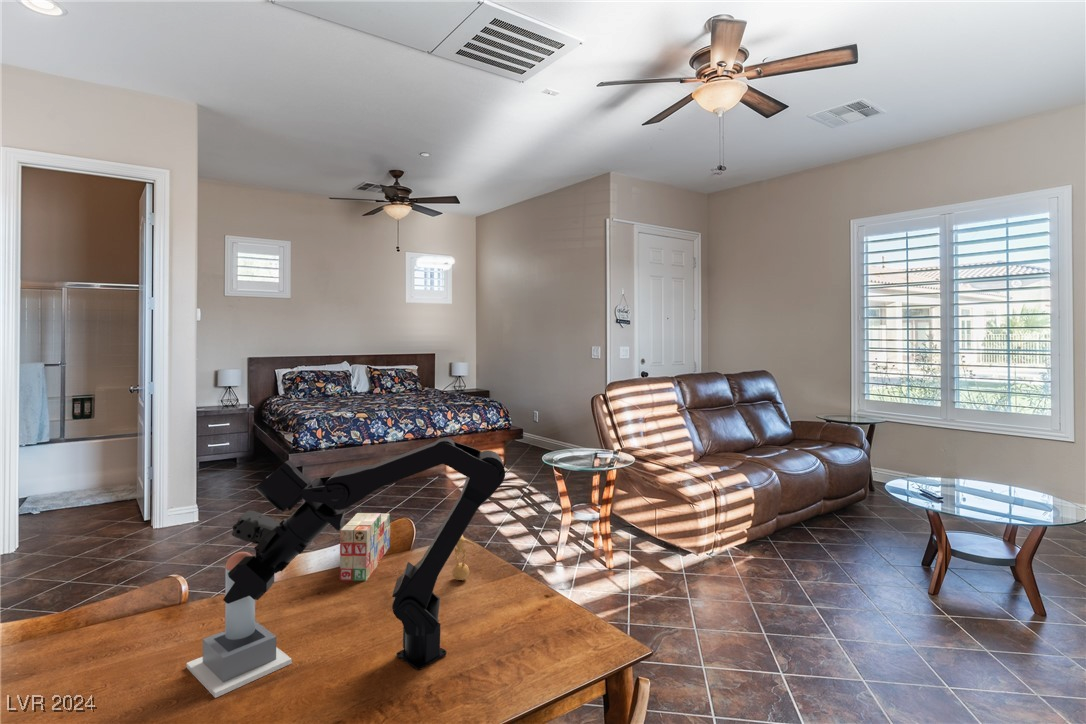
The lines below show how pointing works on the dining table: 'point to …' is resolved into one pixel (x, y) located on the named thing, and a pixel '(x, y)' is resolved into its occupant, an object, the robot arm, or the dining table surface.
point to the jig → (237, 660)
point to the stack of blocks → (363, 545)
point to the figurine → (461, 569)
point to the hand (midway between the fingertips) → (231, 594)
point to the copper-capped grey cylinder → (238, 606)
